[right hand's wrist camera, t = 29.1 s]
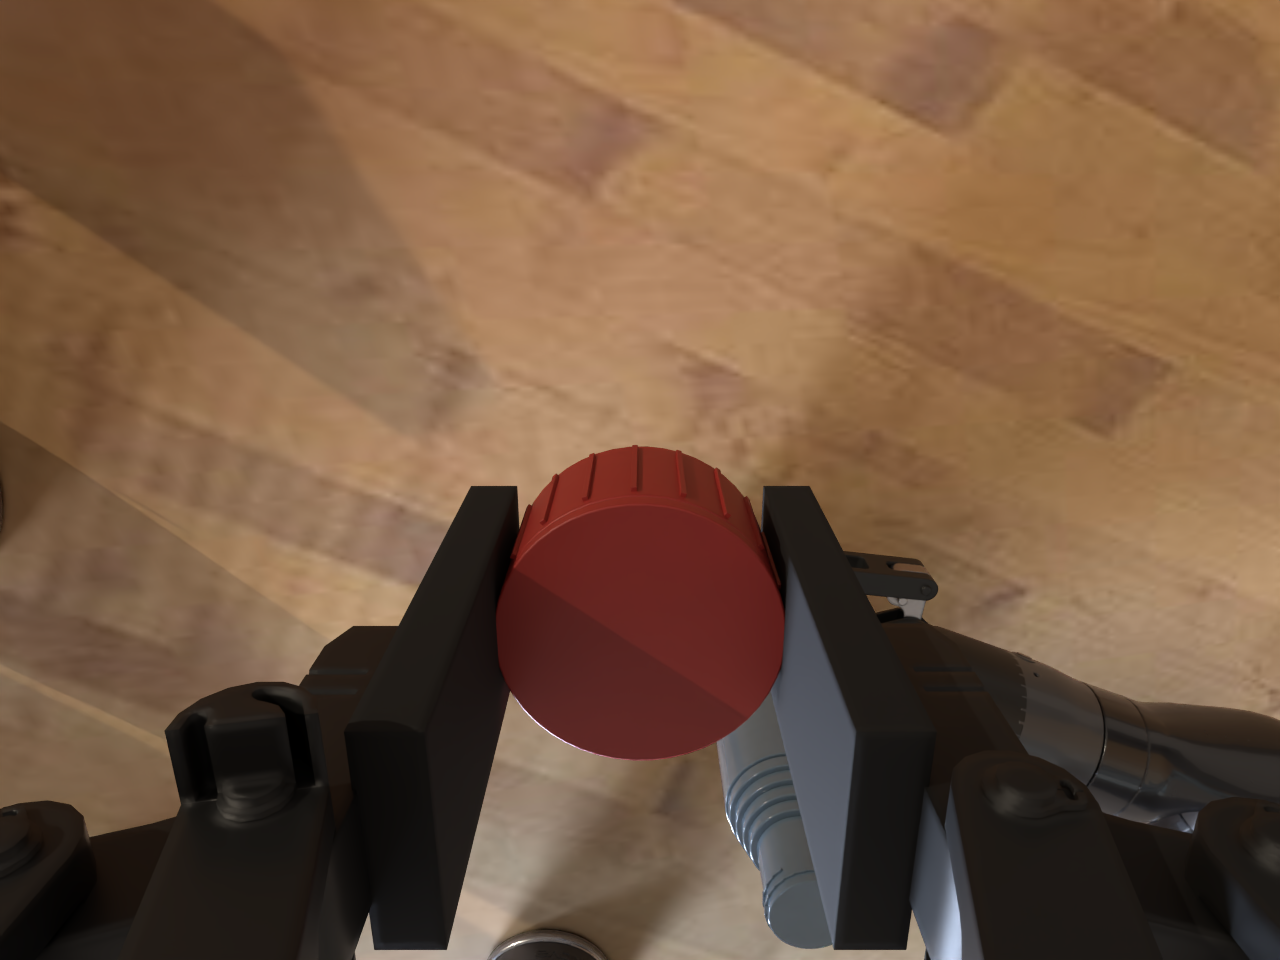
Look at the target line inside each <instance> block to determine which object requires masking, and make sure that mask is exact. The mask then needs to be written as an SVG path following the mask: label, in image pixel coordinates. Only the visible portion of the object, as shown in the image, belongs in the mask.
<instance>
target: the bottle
mask: <svg viewBox="0 0 1280 960" xmlns="http://www.w3.org/2000/svg"><path fill="white" fill-rule="evenodd" d="M716 743H717V751H718V758H719V766H720V773H721V781H722V788H723V796H724V803H725V811H726V815H727V819H728V821H729V823H730V825H731V829H732V831H733V833H734V835H735V836H736V838H737V839H738V841H739V842H740V844H741V845H742V847H743V848H744V850H745V851H746V852H747V854H748V856H749V857H750V858H751V859H752V861H753V863H754V864H755V866H756V867H757V868H758V870H759V871H760V874H761V880H762V886H763V907H764V914H765V918H766V921H767V923H768V926H769V927H770V928H771V930H772V931H773V932H774V934H775V935H776V936H777V937H778V938H779V939H780V940H782V941H783V942H785V943H787V944H789V945H791V946H794V947H798V948H804V949H816V948H822V947H826V946H829V945H832V940H831V936H830V932H829V928H828V924H827V920H826V915H825V911H824V907H823V903H822V899H821V895H820V891H819V887H818V883H817V879H816V875H815V871H814V866H813V862H812V858H811V854H810V850H809V846H808V842H807V838H806V834H805V830H804V826H803V822H802V817H801V813H800V809H799V805H798V801H797V797H796V793H795V789H794V785H793V781H792V777H791V773H790V769H789V764H788V760H787V756H786V752H785V748H784V744H783V740H782V736H781V732H780V728H779V724H778V720H777V715H776V711H775V707H774V703H773V699H772V695H771V691H770V693H769V694H768V696H767V697H766V698H765V700H764V701H763V703H762V704H761V705H760V707H759V708H758V709H757V710H756V711H755V712H754V713H753V714H752V715H751V717H750V718H749V719H748V720H747V721H745V722H744V723H743V724H742V725H741V726H739V727H738V728H737V729H736V730H735V731H733V732H732V733H730V734H728V735H727V736H725V737H724V738H722V739H721V740H719V741H717V742H716Z"/></svg>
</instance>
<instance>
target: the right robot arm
mask: <svg viewBox="0 0 1280 960" xmlns="http://www.w3.org/2000/svg"><path fill="white" fill-rule="evenodd" d="M2 516H3V503H2V493H1V488H0V530H1V525H2ZM518 532H519V513H518V494H517V486H471V487H470V489H469V491H468V493H467V495H466V497H465V499H464V501H463V503H462V505H461V507H460V509H459V511H458V513H457V514H456V516H455V518H454V520H453V522H452V524H451V526H450V528H449V530H448V532H447V534H446V536H445V538H444V539H443V541H442V543H441V545H440V547H439V549H438V551H437V553H436V555H435V557H434V559H433V561H432V563H431V565H430V566H429V568H428V570H427V572H426V574H425V576H424V578H423V580H422V582H421V584H420V586H419V588H418V590H417V592H416V593H415V595H414V597H413V599H412V601H411V603H410V605H409V607H408V609H407V611H406V613H405V615H404V617H403V618H402V620H401V622H400V624H399V626H353V627H351V628H350V629H348V630H347V631H346V632H344V633H343V634H341V635H340V636H339V637H337V638H336V639H334V640H333V641H332V642H330V643H329V644H327V645H326V646H325V647H324V648H323V650H322V651H321V653H320V654H319V656H318V657H317V659H316V660H315V662H314V664H313V665H312V667H311V668H310V670H309V675H306V676H305V677H304V679H303V680H302V682H301V684H300V685H299V686H297V685H293V684H289V683H286V682H255V683H250V684H245V685H240V686H235V687H230V688H227V689H224V690H222V691H219V692H217V693H214V694H212V695H209V696H207V697H204V698H202V699H200V700H199V701H197V702H196V703H194V704H193V705H191V706H190V707H188V708H187V709H185V710H184V711H182V712H180V713H179V714H178V715H177V716H176V718H175V719H174V720H173V721H172V722H171V724H170V725H169V726H168V727H167V729H166V730H165V735H166V739H167V744H168V748H169V752H170V757H171V761H172V766H173V770H174V775H175V779H176V784H177V788H178V792H179V797H180V801H181V807H180V809H179V812H178V814H177V816H176V817H173V818H170V819H166V820H163V821H159V822H156V823H152V824H148V825H144V826H139V827H134V828H130V829H125V830H121V831H116V832H112V833H107V834H102V835H98V836H93V837H89V835H88V831H87V828H86V824H85V820H84V817H83V815H81V814H80V813H79V812H78V811H77V810H76V809H75V808H74V807H73V806H71V805H69V804H64V803H59V802H53V801H38V802H28V803H19V804H15V805H12V806H8V807H3V808H2V809H0V960H356V958H355V949H356V946H357V943H358V941H359V938H360V935H361V932H362V930H363V927H364V924H365V921H366V919H367V916H368V913H369V915H370V922H371V929H372V936H373V943H374V950H447V946H448V942H449V938H450V934H451V930H452V926H453V922H454V918H455V914H456V910H457V906H458V902H459V897H460V893H461V889H462V885H463V881H464V877H465V873H466V869H467V865H468V861H469V857H470V853H471V848H472V844H473V840H474V836H475V832H476V828H477V824H478V820H479V816H480V812H481V808H482V804H483V799H484V795H485V791H486V787H487V783H488V779H489V775H490V771H491V767H492V763H493V759H494V755H495V750H496V746H497V742H498V738H499V734H500V730H501V726H502V722H503V718H504V714H505V710H506V706H507V701H508V697H509V693H510V689H509V687H508V686H507V684H506V682H505V680H504V677H503V675H502V672H501V670H500V667H499V659H498V644H497V629H496V606H497V602H498V598H499V595H500V592H501V589H502V586H503V583H504V580H505V577H506V574H507V571H508V568H509V565H510V562H511V558H510V556H511V553H512V550H513V547H514V544H515V541H516V538H517V535H518ZM761 532H764V534H765V537H766V540H767V543H768V546H769V549H770V552H771V555H772V558H773V561H774V564H775V567H776V570H777V573H778V576H779V579H780V582H781V589H780V594H781V597H782V601H783V605H784V609H785V625H784V641H783V656H782V666H781V669H780V671H779V674H778V677H777V679H776V681H775V683H774V685H773V687H772V689H771V695H772V699H773V703H774V707H775V711H776V715H777V720H778V724H779V728H780V732H781V736H782V740H783V744H784V748H785V752H786V756H787V760H788V764H789V769H790V773H791V777H792V781H793V785H794V789H795V793H796V797H797V801H798V805H799V809H800V813H801V817H802V822H803V826H804V830H805V834H806V838H807V842H808V846H809V850H810V854H811V858H812V862H813V866H814V871H815V875H816V879H817V883H818V887H819V891H820V895H821V899H822V903H823V907H824V911H825V915H826V920H827V924H828V928H829V932H830V936H831V940H832V944H833V948H834V950H906V947H907V940H908V933H909V926H910V919H911V912H912V910H913V913H914V915H915V918H916V921H917V924H918V926H919V929H920V932H921V935H922V937H923V940H924V943H925V946H926V951H925V958H924V960H1280V805H1279V804H1278V803H1273V802H1269V801H1266V800H1260V799H1251V798H1241V797H1230V798H1225V799H1219V800H1214V801H1211V802H1210V803H1208V804H1207V805H1206V806H1205V807H1204V808H1203V809H1202V810H1201V811H1199V812H1198V816H1197V819H1196V823H1195V827H1194V830H1193V834H1191V833H1186V832H1182V831H1177V830H1172V829H1168V828H1163V827H1159V826H1154V825H1149V824H1145V823H1140V822H1136V821H1131V820H1127V819H1124V818H1120V817H1117V816H1113V815H1110V814H1106V813H1104V812H1102V810H1101V808H1100V805H1099V803H1098V802H1097V800H1096V799H1095V798H1094V796H1093V795H1092V793H1091V792H1090V790H1089V789H1088V788H1087V786H1086V785H1085V784H1084V783H1082V782H1081V781H1080V780H1078V779H1077V778H1076V777H1074V776H1073V775H1072V774H1070V773H1069V772H1068V771H1067V770H1065V769H1064V768H1061V767H1059V766H1057V765H1055V764H1053V763H1050V762H1048V761H1046V760H1044V759H1042V758H1039V757H1036V756H1032V755H1029V754H1028V752H1027V751H1026V749H1025V748H1024V746H1023V745H1022V743H1021V742H1020V740H1019V739H1018V737H1017V735H1016V734H1015V732H1014V731H1013V729H1012V728H1011V726H1010V725H1009V723H1008V722H1007V720H1006V719H1005V717H1004V716H1003V714H1002V713H1001V711H1000V709H999V708H998V706H997V705H996V703H995V702H994V700H993V699H992V697H991V696H990V694H989V693H988V692H985V689H984V685H983V684H982V682H981V680H980V679H979V677H978V676H977V674H976V673H975V672H972V667H971V665H970V664H969V662H968V661H967V659H966V658H965V656H964V654H963V653H962V651H961V650H960V648H959V647H958V645H957V644H956V643H955V642H953V641H952V640H951V639H949V638H948V637H946V636H945V635H943V634H942V633H941V632H939V631H938V630H936V629H935V628H934V627H932V626H931V625H929V624H928V623H880V621H879V619H878V617H877V615H876V613H875V611H874V610H873V608H872V606H871V604H870V602H869V600H868V598H867V596H866V594H865V592H864V590H863V588H862V586H861V585H860V583H859V581H858V579H857V577H856V575H855V573H854V571H853V569H852V567H851V565H850V563H849V561H848V559H847V558H846V556H845V554H844V552H843V550H842V548H841V546H840V544H839V542H838V540H837V538H836V536H835V534H834V533H833V531H832V529H831V527H830V525H829V523H828V521H827V519H826V517H825V515H824V513H823V511H822V509H821V508H820V506H819V504H818V502H817V500H816V498H815V496H814V494H813V492H812V490H811V488H810V486H763V505H762V524H761Z"/></svg>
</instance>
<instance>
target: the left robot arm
mask: <svg viewBox="0 0 1280 960" xmlns="http://www.w3.org/2000/svg"><path fill="white" fill-rule="evenodd" d="M843 552H844V554H845V556H846V558H847V559H848V561H849V563H850V565H851V567H852V569H853V571H854V573H855V575H856V577H857V579H858V581H859V583H860V585H861V586H862V588H863V590H864V592H865V594H866V595H875V596H884V597H887V599H888V601H889V602H890V603H891V604H893V605H896V606H899V608H894V609H890V610H886V611H882V612H877V613H876V615H877V617H878V619H879V621H880V623H927V622H926V621H925V620H924V619H923V618H922V613H923V610H924V606H925V602H926V601H927V600H930V599H932V598H934V597H935V596H936V594H937V592H938V586H937V584H936V582H935V581H934V580H933V578H932V577H931V575H930V574H929V572H928V571H927V570H926V568H925V567H924V565H923V564H922V563H921V562H920V561H919V560H917V559H911V558H902V557H893V556H883V555H874V554H865V553H856V552H847V551H843ZM929 625H930V624H929ZM931 626H932V625H931ZM932 627H934V628H935V629H936V630H938V631H939V632H941V633H942V634H943V635H945V636H946V637H948V638H949V639H951V640H952V641H953V642H955V643H956V644H957V645H958V647H959V648H960V650H961V651H962V653H963V654H964V656H965V658H966V659H967V661H968V662H969V664H970V665H971V667H972V672H975V673H976V674H977V676H978V677H979V679H980V680H981V682H982V684H983V685H984V689H985V692H988V693H989V694H990V696H991V697H992V699H993V700H994V702H995V703H996V705H997V706H998V708H999V709H1000V711H1001V713H1002V714H1003V716H1004V717H1005V719H1006V720H1007V722H1008V723H1009V725H1010V726H1011V728H1012V729H1013V731H1014V732H1015V734H1016V735H1017V737H1018V739H1019V740H1020V742H1021V743H1022V745H1023V746H1024V748H1025V749H1026V751H1027V752H1028V754H1029V755H1032V756H1036V757H1039V758H1042V759H1044V760H1046V761H1048V762H1050V763H1053V764H1055V765H1057V766H1059V767H1061V768H1064V769H1065V770H1067V771H1068V772H1069V773H1070V774H1072V775H1073V776H1074V777H1076V778H1077V779H1078V780H1080V781H1081V782H1082V783H1084V784H1085V785H1086V786H1087V788H1088V789H1089V790H1090V792H1091V793H1092V795H1093V796H1094V798H1095V799H1096V800H1097V802H1098V803H1099V805H1100V808H1101V810H1102V812H1104V813H1106V814H1110V815H1113V816H1117V817H1120V818H1124V819H1127V820H1131V821H1136V822H1140V823H1145V824H1149V825H1154V826H1159V827H1163V828H1168V829H1172V830H1177V831H1182V832H1186V833H1191V834H1193V830H1194V827H1195V823H1196V819H1197V816H1198V812H1199V811H1201V810H1202V809H1203V808H1204V807H1205V806H1206V805H1207V804H1208V803H1210V802H1211V801H1214V800H1219V799H1225V798H1230V797H1241V798H1251V799H1260V800H1266V801H1269V802H1273V803H1278V804H1279V805H1280V720H1278V719H1275V718H1273V717H1270V716H1267V715H1263V714H1259V713H1255V712H1251V711H1245V710H1239V709H1232V708H1224V707H1213V706H1201V705H1190V704H1178V703H1154V702H1138V701H1134V700H1132V699H1129V698H1127V697H1124V696H1121V695H1118V694H1115V693H1112V692H1110V691H1107V690H1104V689H1101V688H1098V687H1095V686H1092V685H1089V684H1087V683H1084V682H1081V681H1078V680H1076V679H1074V678H1071V677H1069V676H1067V675H1065V674H1064V673H1062V672H1060V671H1058V670H1056V669H1054V668H1052V667H1050V666H1048V665H1045V664H1043V663H1040V662H1038V661H1035V660H1032V658H1030V657H1028V656H1026V655H1024V654H1021V653H1018V652H1017V653H1016V652H1010V651H1007V650H1004V649H1001V648H998V647H995V646H992V645H990V644H987V643H984V642H981V641H978V640H975V639H973V638H970V637H967V636H964V635H961V634H958V633H955V632H953V631H950V630H947V629H944V628H941V627H938V626H932ZM488 960H607V958H606V957H605V955H604V954H603V953H602V952H601V951H600V950H599V949H598V948H597V947H596V946H595V945H593V944H592V943H591V942H589V941H587V940H586V939H584V938H582V937H579V936H577V935H574V934H571V933H567V932H563V931H557V930H536V931H530V932H525V933H522V934H519V935H516V936H513V937H511V938H509V939H508V940H506V941H504V942H503V943H501V944H500V945H499V946H498V947H497V948H496V949H495V950H494V951H493V952H492V953H491V955H490V956H489V958H488Z"/></svg>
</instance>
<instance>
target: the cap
mask: <svg viewBox="0 0 1280 960" xmlns="http://www.w3.org/2000/svg"><path fill="white" fill-rule="evenodd" d="M510 558H511V562H510V565H509V568H508V571H507V574H506V577H505V580H504V583H503V586H502V589H501V592H500V595H499V598H498V602H497V606H496V629H497V644H498V659H499V667H500V670H501V672H502V675H503V677H504V680H505V682H506V684H507V686H508V687H509V689H510V691H511V693H512V694H513V696H514V698H515V699H516V700H517V701H518V703H519V704H520V705H521V707H522V708H523V709H524V711H525V712H526V713H527V714H528V715H529V716H530V717H531V718H532V719H533V720H534V721H535V722H536V723H538V724H539V725H540V726H542V727H543V728H544V729H545V730H547V731H548V732H549V733H551V734H552V735H554V736H556V737H557V738H559V739H561V740H562V741H564V742H566V743H568V744H570V745H572V746H574V747H577V748H579V749H581V750H584V751H587V752H590V753H593V754H596V755H600V756H605V757H610V758H615V759H624V760H657V759H666V758H672V757H676V756H680V755H685V754H688V753H691V752H694V751H697V750H699V749H702V748H705V747H707V746H709V745H711V744H713V743H715V742H717V741H719V740H721V739H722V738H724V737H725V736H727V735H728V734H730V733H732V732H733V731H735V730H736V729H737V728H738V727H739V726H741V725H742V724H743V723H744V722H745V721H747V720H748V719H749V718H750V717H751V715H752V714H753V713H754V712H755V711H756V710H757V709H758V708H759V707H760V705H761V704H762V703H763V701H764V700H765V698H766V697H767V696H768V694H769V693H770V691H771V689H772V687H773V685H774V683H775V681H776V679H777V677H778V674H779V671H780V669H781V666H782V656H783V641H784V625H785V609H784V605H783V601H782V597H781V594H780V589H781V582H780V579H779V576H778V573H777V570H776V567H775V564H774V561H773V558H772V555H771V552H770V549H769V546H768V543H767V540H766V537H765V534H764V532H761V530H760V527H759V525H758V522H757V520H756V517H755V515H754V513H753V510H752V506H751V503H750V500H749V498H748V497H747V496H746V497H743V495H742V494H741V493H740V492H739V490H738V489H737V488H736V487H735V486H734V485H733V484H732V483H731V482H730V481H729V480H728V479H727V478H726V477H725V476H724V475H722V474H721V471H720V470H719V469H718V468H715V469H714V468H713V467H711V466H709V465H708V464H706V463H704V462H702V461H700V460H698V459H696V458H694V457H691V456H689V455H686V454H683V453H682V452H681V451H679V450H676V451H672V450H668V449H664V448H655V447H638V445H632V447H625V448H618V449H612V450H609V451H605V452H601V453H598V454H594V453H593V454H590V455H589V457H588V458H585V459H583V460H581V461H579V462H577V463H576V464H574V465H572V466H570V467H569V468H567V469H566V470H564V471H563V472H562V473H560V474H559V475H557V474H555V475H554V476H553V477H552V481H551V482H550V483H549V484H548V485H547V486H546V487H545V488H544V489H543V490H542V492H541V493H540V494H539V496H538V497H537V498H536V500H535V501H534V503H533V504H532V506H531V505H530V504H529V505H528V506H527V508H526V511H525V514H524V517H523V520H522V523H521V526H520V529H519V532H518V535H517V538H516V541H515V544H514V547H513V550H512V553H511V556H510Z"/></svg>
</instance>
